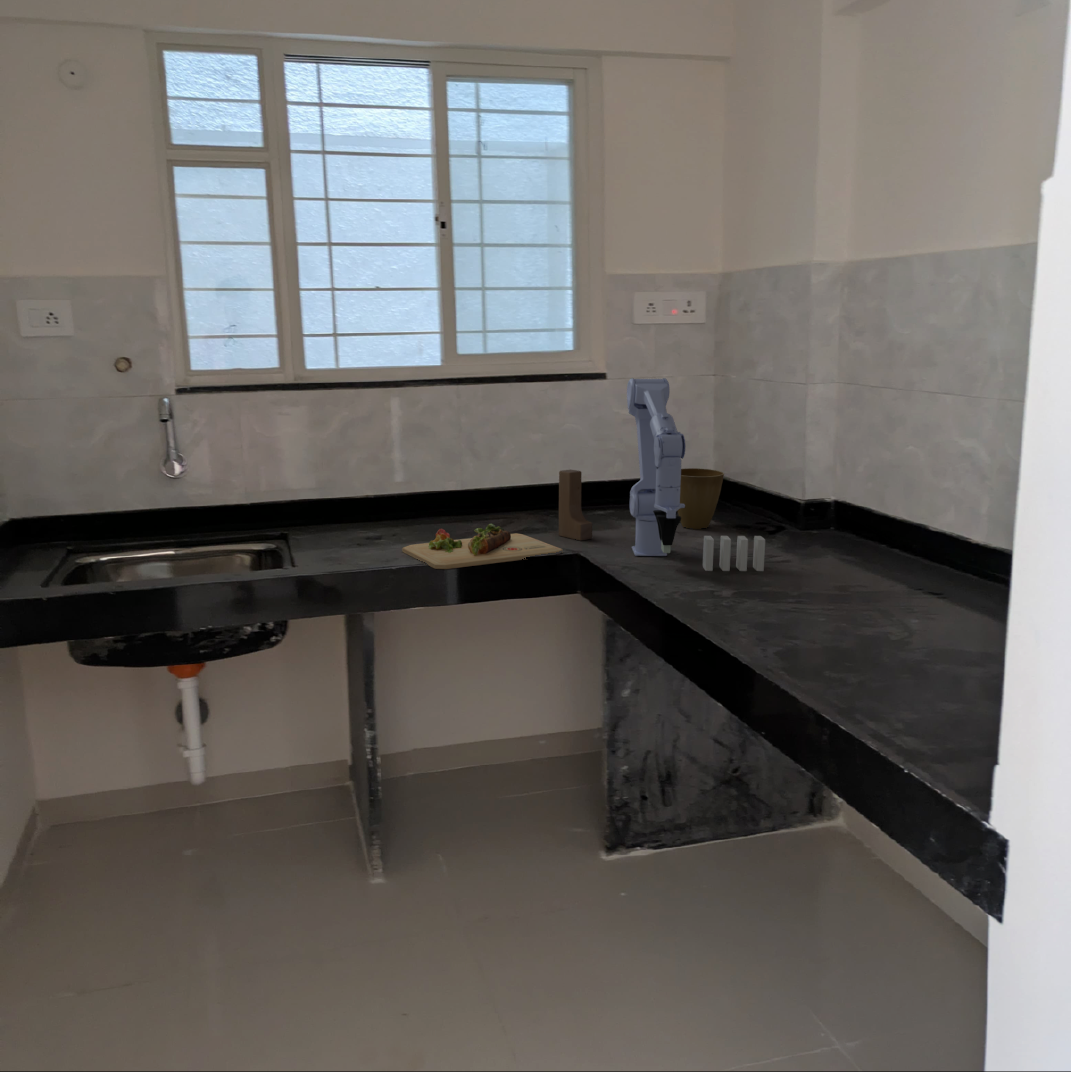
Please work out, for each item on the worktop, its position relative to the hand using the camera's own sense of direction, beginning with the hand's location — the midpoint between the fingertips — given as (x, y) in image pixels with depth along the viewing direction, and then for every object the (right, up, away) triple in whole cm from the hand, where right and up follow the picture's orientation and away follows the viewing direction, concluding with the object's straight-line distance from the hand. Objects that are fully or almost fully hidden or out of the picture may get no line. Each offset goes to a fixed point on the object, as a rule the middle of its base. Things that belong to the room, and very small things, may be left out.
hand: (666, 542), depth 232 cm
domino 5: (+22, -6, +1) cm, 23 cm away
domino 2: (+10, -6, +1) cm, 12 cm away
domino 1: (0, -2, 0) cm, 2 cm away
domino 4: (+18, -6, +1) cm, 19 cm away
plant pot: (+15, +4, +50) cm, 52 cm away
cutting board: (-44, -3, +17) cm, 48 cm away
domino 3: (+14, -6, +1) cm, 15 cm away
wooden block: (-20, +1, +35) cm, 41 cm away
